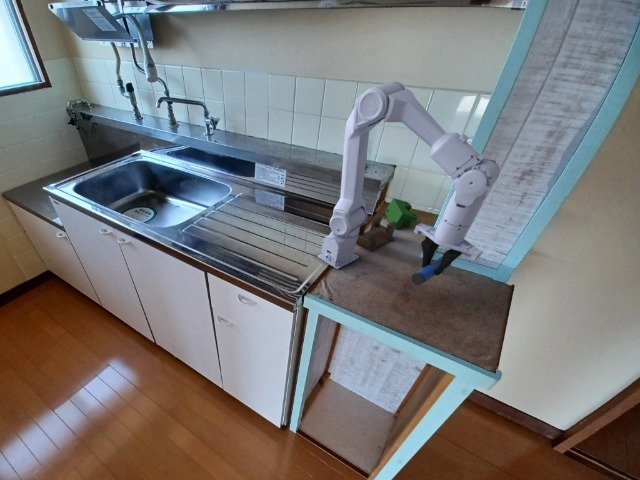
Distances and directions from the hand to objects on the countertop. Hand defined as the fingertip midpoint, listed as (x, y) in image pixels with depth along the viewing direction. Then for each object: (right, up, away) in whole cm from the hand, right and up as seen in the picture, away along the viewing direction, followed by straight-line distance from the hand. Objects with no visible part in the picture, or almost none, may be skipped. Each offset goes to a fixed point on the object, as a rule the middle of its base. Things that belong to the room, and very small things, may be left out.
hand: (431, 269), depth 79 cm
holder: (-5, +12, +25) cm, 28 cm away
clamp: (+8, +20, +33) cm, 39 cm away
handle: (0, -1, +1) cm, 2 cm away
